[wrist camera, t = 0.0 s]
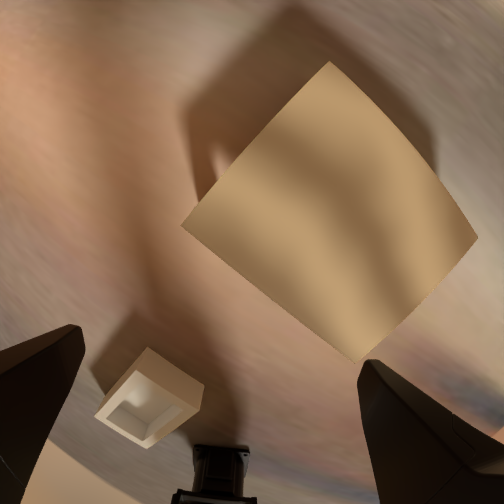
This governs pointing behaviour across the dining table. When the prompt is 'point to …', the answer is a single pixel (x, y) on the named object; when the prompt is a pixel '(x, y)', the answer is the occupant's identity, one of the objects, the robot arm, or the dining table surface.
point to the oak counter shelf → (335, 216)
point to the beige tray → (150, 400)
